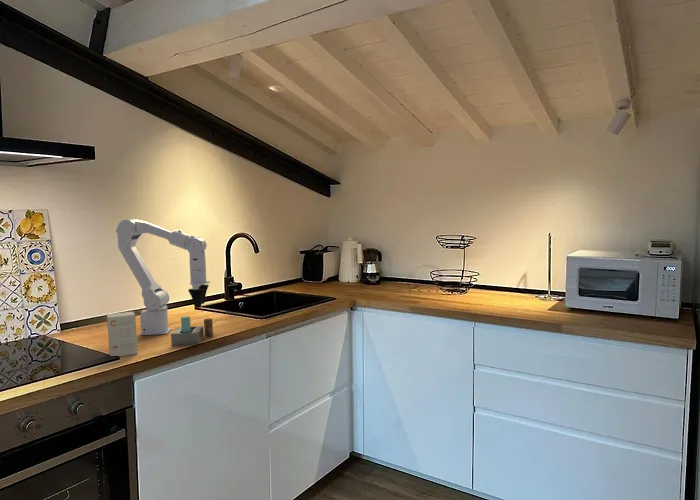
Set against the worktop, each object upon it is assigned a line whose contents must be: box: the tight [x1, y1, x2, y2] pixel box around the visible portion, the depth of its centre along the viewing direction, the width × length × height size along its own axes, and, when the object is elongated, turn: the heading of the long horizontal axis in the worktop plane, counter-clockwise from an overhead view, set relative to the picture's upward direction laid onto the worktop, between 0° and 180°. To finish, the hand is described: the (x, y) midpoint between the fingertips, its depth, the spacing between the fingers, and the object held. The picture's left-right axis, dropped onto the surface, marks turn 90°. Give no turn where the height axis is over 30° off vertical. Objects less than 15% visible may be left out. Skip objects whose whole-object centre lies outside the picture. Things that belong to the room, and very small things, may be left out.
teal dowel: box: [180, 315, 192, 333], centre depth 173 cm, size 3×3×8 cm
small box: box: [106, 311, 139, 357], centre depth 161 cm, size 8×6×13 cm
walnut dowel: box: [203, 317, 214, 337], centre depth 183 cm, size 3×3×6 cm
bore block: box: [170, 325, 205, 347], centre depth 176 cm, size 9×10×4 cm
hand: (199, 305), depth 189 cm, fingers open, 7 cm apart
